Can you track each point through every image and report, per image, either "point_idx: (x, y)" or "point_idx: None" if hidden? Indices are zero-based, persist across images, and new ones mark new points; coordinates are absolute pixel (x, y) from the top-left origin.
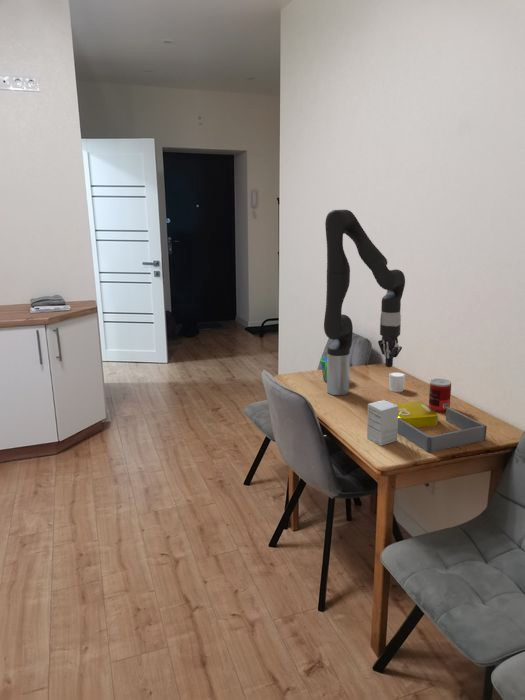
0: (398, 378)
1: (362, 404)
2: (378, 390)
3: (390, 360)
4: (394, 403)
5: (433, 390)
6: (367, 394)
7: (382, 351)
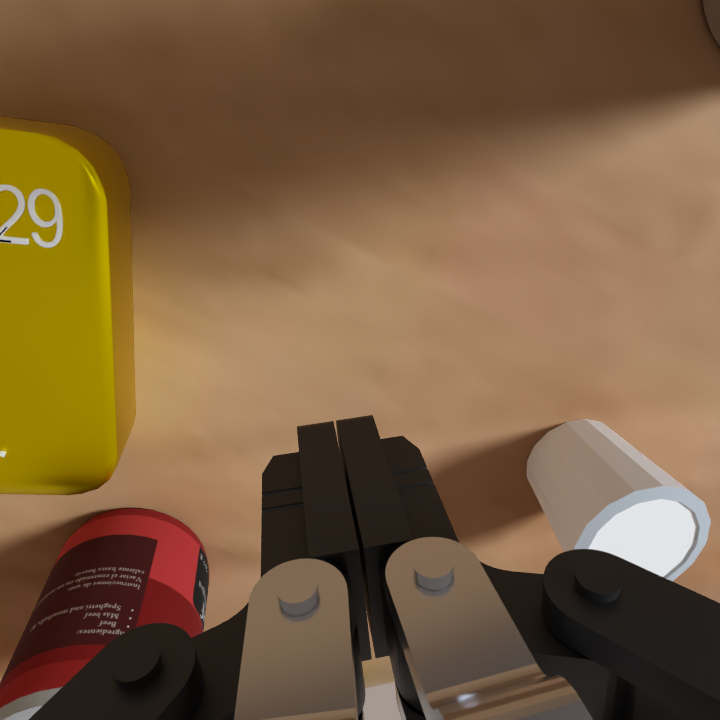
0: (576, 522)
1: (402, 34)
2: (629, 338)
3: (267, 568)
4: (85, 247)
5: (47, 645)
6: (600, 211)
7: (648, 622)
